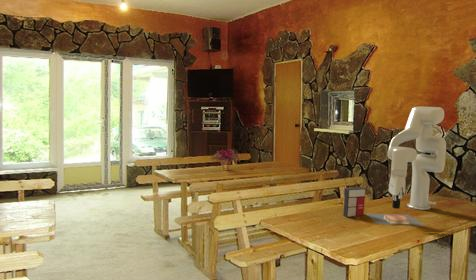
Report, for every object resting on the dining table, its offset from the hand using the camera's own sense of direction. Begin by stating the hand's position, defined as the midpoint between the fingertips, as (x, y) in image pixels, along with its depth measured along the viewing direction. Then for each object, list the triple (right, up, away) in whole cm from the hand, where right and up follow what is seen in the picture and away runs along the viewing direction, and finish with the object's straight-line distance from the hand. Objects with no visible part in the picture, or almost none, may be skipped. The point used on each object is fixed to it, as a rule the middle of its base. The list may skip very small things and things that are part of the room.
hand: (395, 208), depth 213 cm
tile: (0, -5, +3) cm, 6 cm away
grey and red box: (-19, -6, +8) cm, 22 cm away
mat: (0, -7, +2) cm, 7 cm away
